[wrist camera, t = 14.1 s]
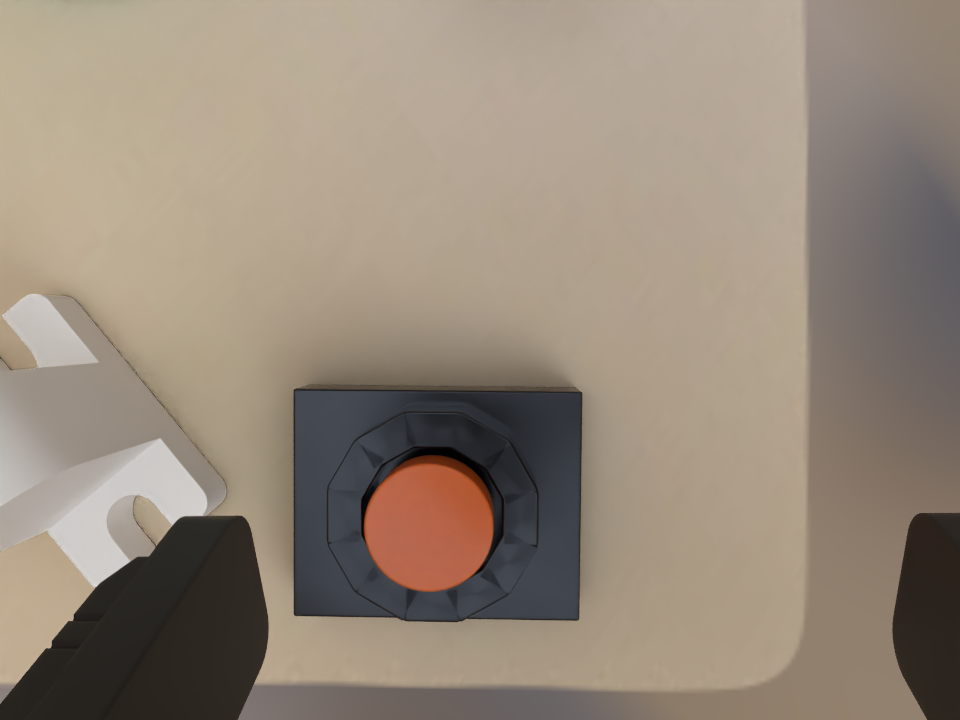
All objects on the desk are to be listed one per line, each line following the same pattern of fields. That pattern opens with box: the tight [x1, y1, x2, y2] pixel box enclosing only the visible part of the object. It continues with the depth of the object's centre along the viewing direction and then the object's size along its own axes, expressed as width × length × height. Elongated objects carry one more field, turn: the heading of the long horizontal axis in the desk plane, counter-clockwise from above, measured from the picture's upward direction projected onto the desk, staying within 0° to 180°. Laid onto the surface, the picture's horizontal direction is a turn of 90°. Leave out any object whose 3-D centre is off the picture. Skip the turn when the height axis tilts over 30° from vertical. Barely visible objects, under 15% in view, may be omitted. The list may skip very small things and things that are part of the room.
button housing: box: [294, 385, 582, 622], centre depth 28 cm, size 10×8×4 cm
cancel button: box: [364, 455, 494, 592], centre depth 25 cm, size 4×4×2 cm
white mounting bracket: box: [0, 294, 227, 588], centre depth 25 cm, size 5×10×10 cm, turn 39°
